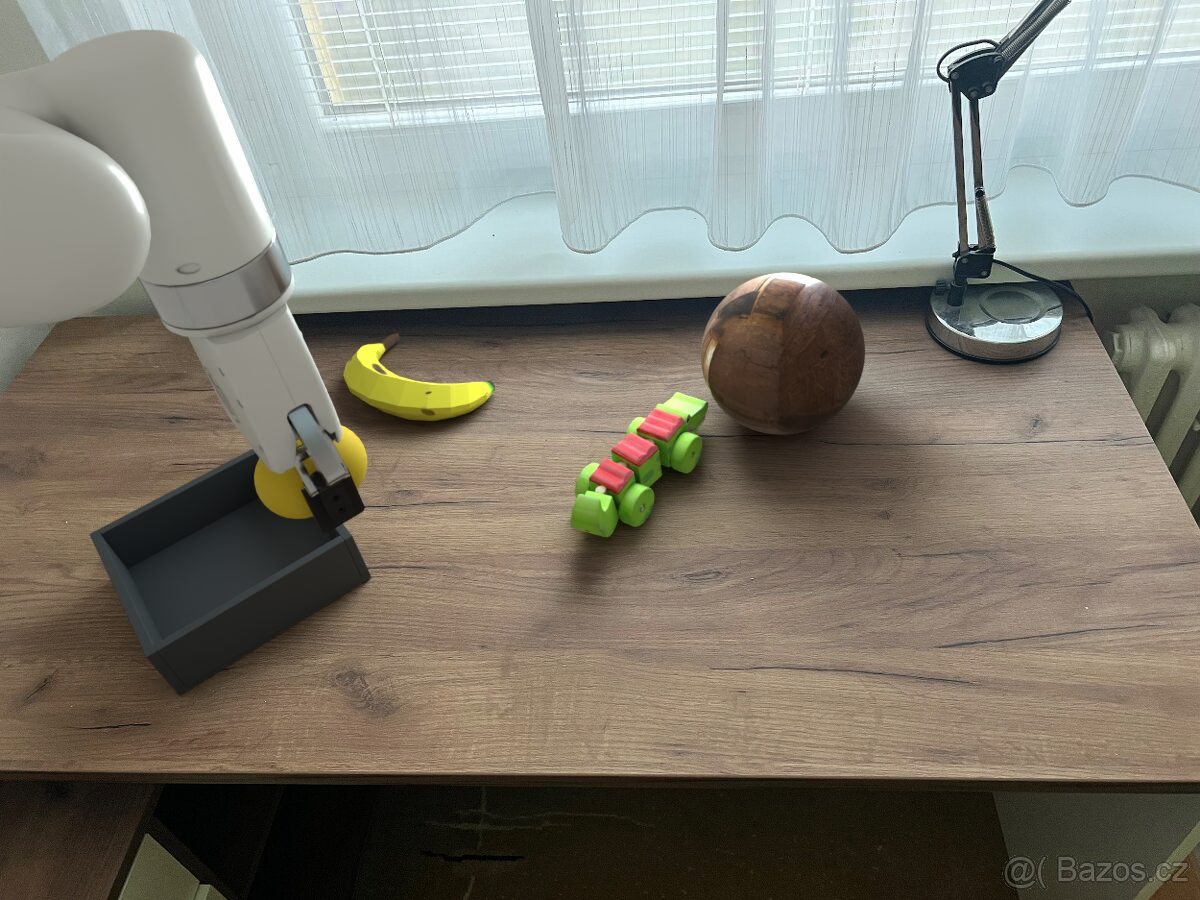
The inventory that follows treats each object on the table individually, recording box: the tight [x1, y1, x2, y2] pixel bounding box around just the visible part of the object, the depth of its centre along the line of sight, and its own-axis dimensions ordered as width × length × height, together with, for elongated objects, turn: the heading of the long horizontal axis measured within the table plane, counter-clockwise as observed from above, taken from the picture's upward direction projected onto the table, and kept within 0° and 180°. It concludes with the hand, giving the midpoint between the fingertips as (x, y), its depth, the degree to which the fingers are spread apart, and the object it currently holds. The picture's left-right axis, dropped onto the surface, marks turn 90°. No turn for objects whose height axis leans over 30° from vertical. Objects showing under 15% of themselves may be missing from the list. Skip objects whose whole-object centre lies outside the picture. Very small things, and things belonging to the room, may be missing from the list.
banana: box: [342, 332, 496, 422], centre depth 95 cm, size 5×17×15 cm
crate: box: [89, 448, 372, 697], centre depth 77 cm, size 18×17×6 cm
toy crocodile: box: [570, 391, 709, 538], centre depth 80 cm, size 20×7×6 cm, turn 142°
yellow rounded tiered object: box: [254, 425, 368, 519], centre depth 59 cm, size 8×6×6 cm
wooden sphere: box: [700, 272, 866, 436], centre depth 82 cm, size 15×15×15 cm
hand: (322, 492), depth 61 cm, fingers closed on yellow rounded tiered object, 5 cm apart
